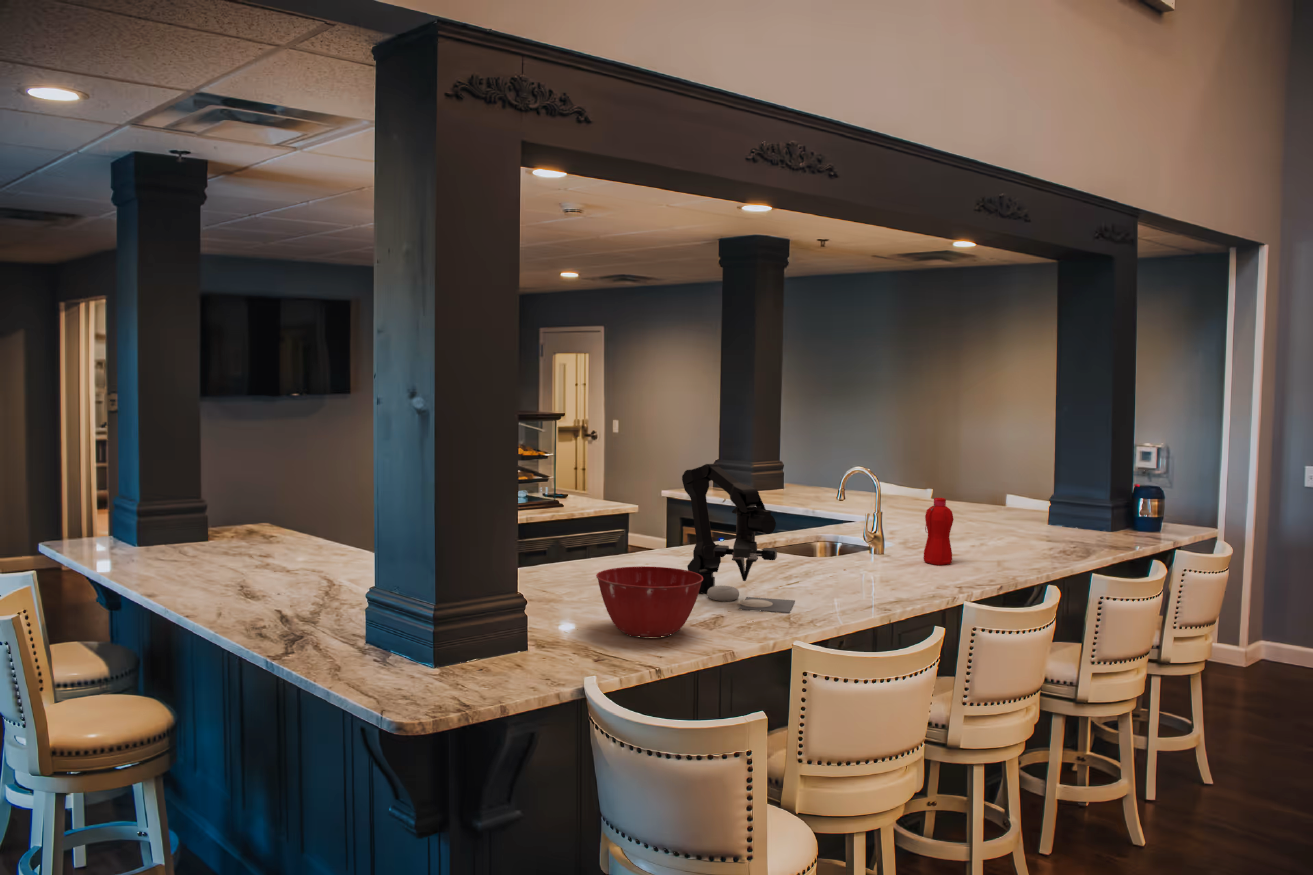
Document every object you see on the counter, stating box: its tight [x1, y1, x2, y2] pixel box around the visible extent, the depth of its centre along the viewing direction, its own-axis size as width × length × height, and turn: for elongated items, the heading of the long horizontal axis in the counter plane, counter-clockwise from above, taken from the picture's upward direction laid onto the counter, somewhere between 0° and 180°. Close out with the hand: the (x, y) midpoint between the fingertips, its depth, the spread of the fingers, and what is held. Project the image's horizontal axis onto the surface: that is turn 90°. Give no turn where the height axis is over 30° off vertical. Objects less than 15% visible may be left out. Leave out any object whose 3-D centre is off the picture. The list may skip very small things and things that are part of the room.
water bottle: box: [922, 497, 954, 566], centre depth 366 cm, size 9×11×25 cm
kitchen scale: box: [738, 596, 796, 614], centre depth 292 cm, size 16×16×1 cm
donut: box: [706, 585, 740, 602], centre depth 300 cm, size 10×4×10 cm
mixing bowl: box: [595, 566, 703, 637], centre depth 258 cm, size 28×28×15 cm
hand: (744, 580), depth 293 cm, fingers closed
